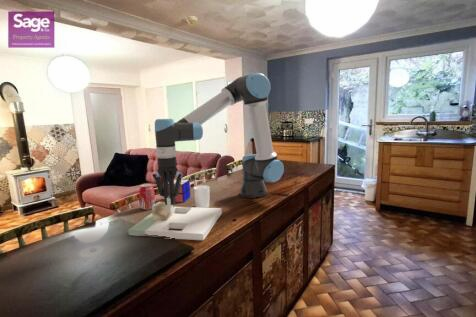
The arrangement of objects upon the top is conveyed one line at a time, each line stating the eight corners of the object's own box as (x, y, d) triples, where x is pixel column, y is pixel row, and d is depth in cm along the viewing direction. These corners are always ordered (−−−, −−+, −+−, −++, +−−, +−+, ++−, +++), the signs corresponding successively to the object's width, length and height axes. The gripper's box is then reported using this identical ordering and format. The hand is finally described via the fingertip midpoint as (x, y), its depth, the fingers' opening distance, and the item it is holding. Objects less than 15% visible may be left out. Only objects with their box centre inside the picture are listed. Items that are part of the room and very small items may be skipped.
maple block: (172, 215, 113) (171, 202, 112) (166, 220, 107) (165, 206, 107) (159, 214, 114) (158, 201, 113) (152, 220, 109) (151, 206, 108)
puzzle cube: (183, 202, 138) (182, 184, 137) (166, 202, 140) (164, 184, 139) (190, 197, 148) (189, 179, 146) (174, 196, 150) (173, 179, 148)
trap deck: (221, 213, 121) (221, 208, 120) (203, 240, 94) (203, 233, 94) (161, 211, 126) (161, 206, 126) (128, 236, 100) (128, 229, 100)
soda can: (143, 206, 134) (140, 183, 133) (156, 205, 135) (155, 182, 133) (139, 210, 127) (136, 187, 126) (153, 210, 128) (151, 186, 126)
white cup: (212, 204, 134) (212, 185, 132) (206, 209, 126) (205, 189, 125) (199, 203, 136) (198, 184, 135) (191, 208, 129) (190, 188, 127)
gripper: (147, 158, 104) (152, 214, 107) (177, 158, 102) (181, 215, 105) (156, 155, 111) (160, 208, 115) (185, 155, 109) (188, 209, 112)
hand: (170, 211), depth 110 cm, fingers closed
